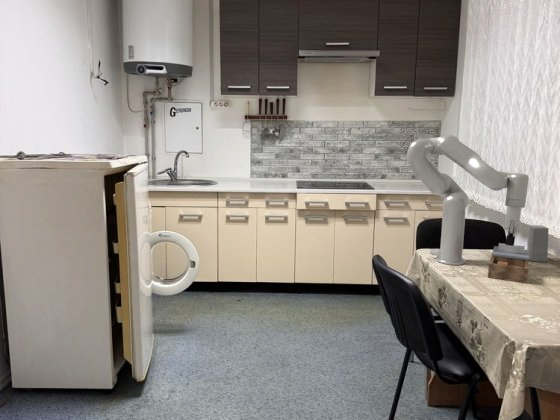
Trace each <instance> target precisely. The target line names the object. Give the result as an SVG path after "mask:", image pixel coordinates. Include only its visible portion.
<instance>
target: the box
mask: <svg viewBox="0 0 560 420" xmlns="http://www.w3.org/2000/svg"><path fill="white" fill-rule="evenodd" d="M490 257H491V258H490V260H489V263H488V271H487V279H494V280H499V281H506V282H512V283H513V282H515V283H519V284H528V275H529V265H530V264H529V263H530V259H529V260H523V259H515V258H507V257H499V256H492V255H491V256H490Z"/></svg>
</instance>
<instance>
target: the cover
mask: <svg viewBox="0 0 560 420" xmlns="http://www.w3.org/2000/svg"><path fill="white" fill-rule="evenodd" d="M525 246H526V245H517V244H514V246H510V245H506V243H501V242H499V243H498V246H496V245H494V246H493V250H492V252H491V257H492V256H499V257H507V258H515V259H523V260H529V261H530V259H529V251H530V250H527V249H526V247H525Z"/></svg>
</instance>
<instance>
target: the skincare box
mask: <svg viewBox="0 0 560 420" xmlns="http://www.w3.org/2000/svg"><path fill="white" fill-rule="evenodd" d="M527 228H528V229H527V245H526V247H527V248H526V250H530V251H529V260H531V261H532V262H542V263H543V262H544V263H546V262H548V251H549V249H548V248H549V247H548V246H549V230H550V229H549V227H547V226H544V225H537V224H536V225H527Z"/></svg>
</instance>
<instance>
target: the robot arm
mask: <svg viewBox="0 0 560 420" xmlns="http://www.w3.org/2000/svg"><path fill="white" fill-rule="evenodd" d="M435 156H445V157H446V158H448V159H449V160H450V161H451V162H453V163H455V164H457V165H458V167H460V168H461V169H463V170H464V171H465V172H467V173H468V174H470V175H471V176H472V177H473V178H474V179H476V180H477V181H478V182H480V183H481V184H482V185H483V186H486V188H488V189H490V190H491V191H496V192H498V191H502V190H504V189H506V194H505V203H504V206H506V211H505V212H506V215H505V220H504V226H503V227H504V228H503V229H504V230H507V235H506V238H505V244H506V245H510V246H514V245H515V240H516V236H515V235H516V232H517V230H518V228H519V224H520V219H521V213H522V209H523V208H526V202H527V201H526V200H527V195H528V194H527V193H528V186H529V181H530V179H529V178H530V177H529V175H528V174H526V173H519V172H517V173H516V172H515V173H513V172H511V173H510V172H506V171H500V170H496V169H495V168H494V167H492V166H491V165H489V164H488V163H487V162H486V161H485V160H484V159H483V158H482V157H481V156H480V155H479V154H478V153H477V151H474V150H473V149H471V148H470V147H469V146H467V145H466V144H464V143H463V142H462V141H460V140H459V138H458V137H457V136H455V135H452V134H447V135H443V136H438V137H430V138H419V139H416V140H414V141H413V142H412V143H410V145H409V147H408V149H407V153H406V160H407V164H408V166H409V168H410V169H411V170H412V172H413V173H414V174H415V175H416V176H417V177H418V178H419V180H420V181H421V183H422V184H424V186H425V187H426V188H427V189H428V191H430V193H431V194H433V195H435V196H440V198H441V199H442V200H443V201H442V205H441V206H442V212H441V213H442V216H441V217H442V221H441V233H440V234H441V236H440V249H439V250H434V249H430V252H429V254H431V256H436V258H435V260H436V262H438V263H440V264H444V265H448V266H449V265H450V266H459V265H460V266H461V265H464V264H466V259H465V258H463V250H464V236H465V225H466V223H465V222H466V209H467V207H468V205H469V202H470V199H469V196H468V195H467V193H466V192H465V191H464V189H462V187H461V186H459V184H458V183H457V182H456V181H455V179H453V177H451V176H450V175H448V174H447V173H441V172H440V170H439V169H438V168H437V167H436V166H435V165H434V164H433V163H432V162H431V161H430V160H429V159H428V157H435Z"/></svg>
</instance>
